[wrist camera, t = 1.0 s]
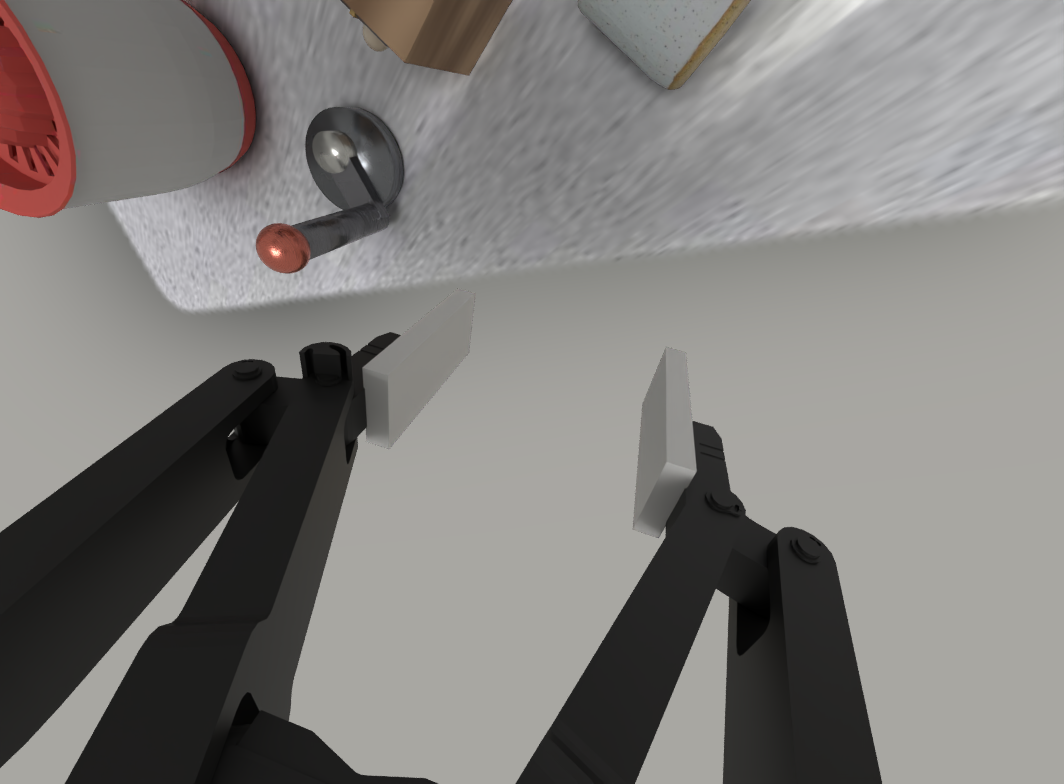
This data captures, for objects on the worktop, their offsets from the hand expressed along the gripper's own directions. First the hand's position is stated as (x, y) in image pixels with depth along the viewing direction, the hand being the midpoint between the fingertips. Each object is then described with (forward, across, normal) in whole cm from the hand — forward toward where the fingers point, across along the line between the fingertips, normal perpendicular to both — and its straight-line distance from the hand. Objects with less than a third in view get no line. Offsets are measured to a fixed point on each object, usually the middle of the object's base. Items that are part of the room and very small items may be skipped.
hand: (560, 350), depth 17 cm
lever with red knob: (+23, -23, -1) cm, 32 cm away
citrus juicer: (+23, -40, +3) cm, 46 cm away
